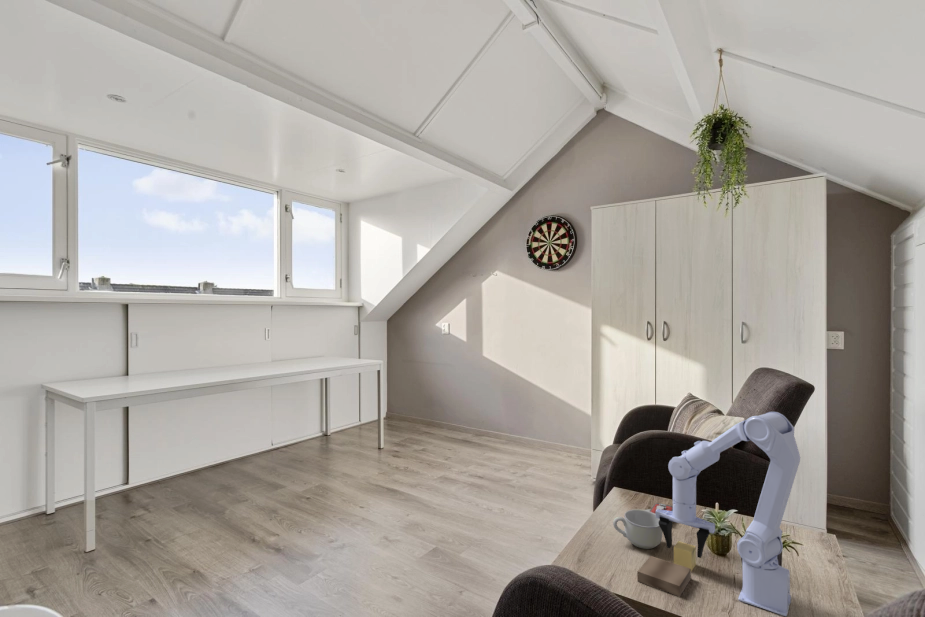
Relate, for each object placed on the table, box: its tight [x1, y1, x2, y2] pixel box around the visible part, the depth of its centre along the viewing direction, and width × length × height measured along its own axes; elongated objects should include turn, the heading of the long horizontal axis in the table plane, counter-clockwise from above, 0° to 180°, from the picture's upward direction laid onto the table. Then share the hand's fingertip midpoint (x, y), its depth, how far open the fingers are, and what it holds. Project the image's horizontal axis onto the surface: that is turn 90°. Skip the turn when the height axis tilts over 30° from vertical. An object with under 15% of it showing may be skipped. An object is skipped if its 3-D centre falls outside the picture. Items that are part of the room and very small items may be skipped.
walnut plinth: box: [636, 555, 692, 597], centre depth 119 cm, size 10×10×2 cm
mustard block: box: [673, 541, 697, 572], centre depth 126 cm, size 4×4×5 cm
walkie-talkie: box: [645, 502, 673, 514], centre depth 153 cm, size 9×4×20 cm
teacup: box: [612, 508, 663, 550], centre depth 138 cm, size 14×11×8 cm
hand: (684, 551), depth 126 cm, fingers open, 7 cm apart
